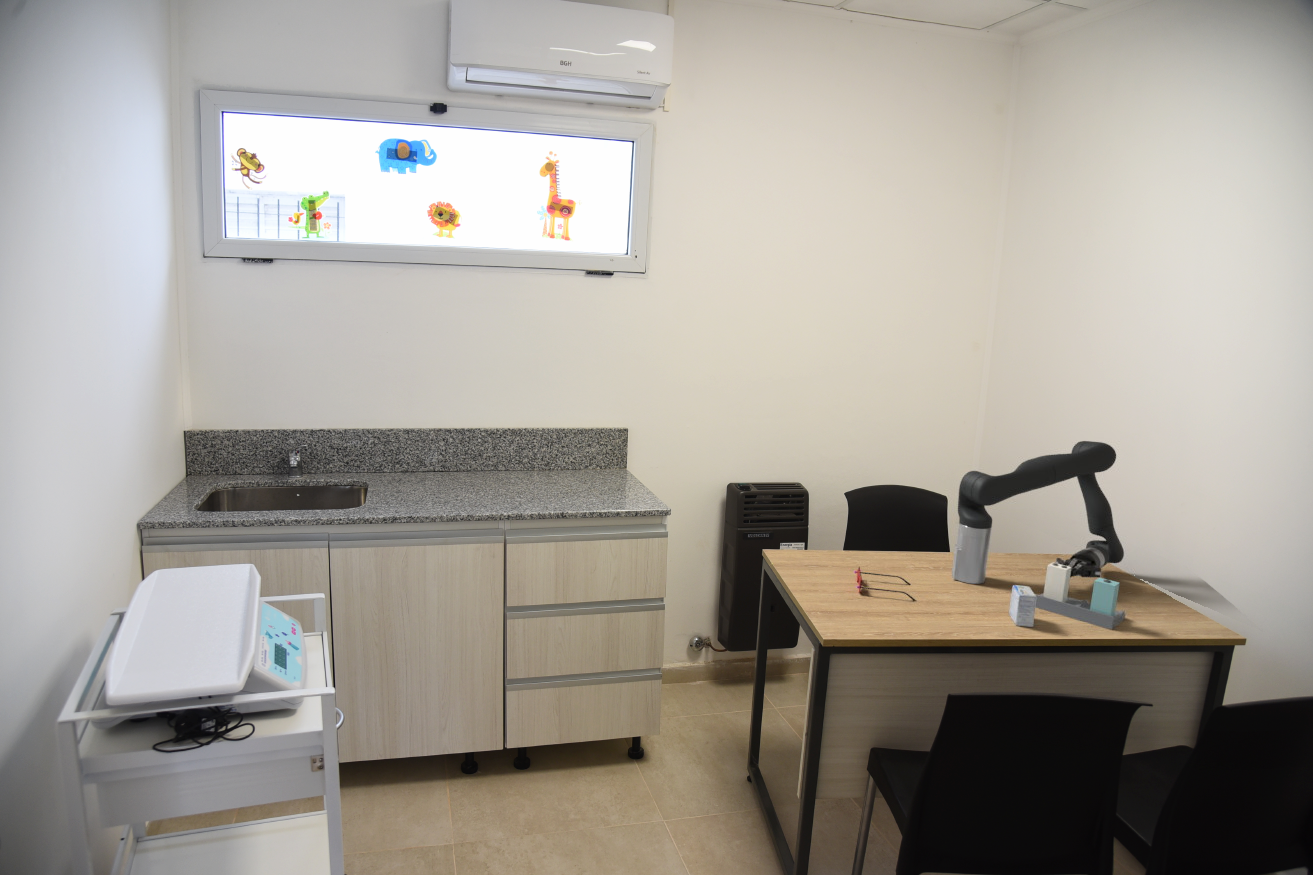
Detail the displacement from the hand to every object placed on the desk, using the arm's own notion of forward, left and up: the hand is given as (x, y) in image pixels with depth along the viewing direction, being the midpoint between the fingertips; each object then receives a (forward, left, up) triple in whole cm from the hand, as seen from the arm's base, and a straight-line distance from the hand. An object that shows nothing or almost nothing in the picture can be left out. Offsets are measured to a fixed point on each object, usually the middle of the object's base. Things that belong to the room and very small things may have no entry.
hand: (1067, 573), depth 230 cm
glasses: (-51, -13, -8) cm, 53 cm away
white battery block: (-4, -7, -6) cm, 10 cm away
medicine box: (-16, -24, -8) cm, 29 cm away
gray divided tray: (+1, -11, -8) cm, 13 cm away
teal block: (+6, -16, -6) cm, 18 cm away
